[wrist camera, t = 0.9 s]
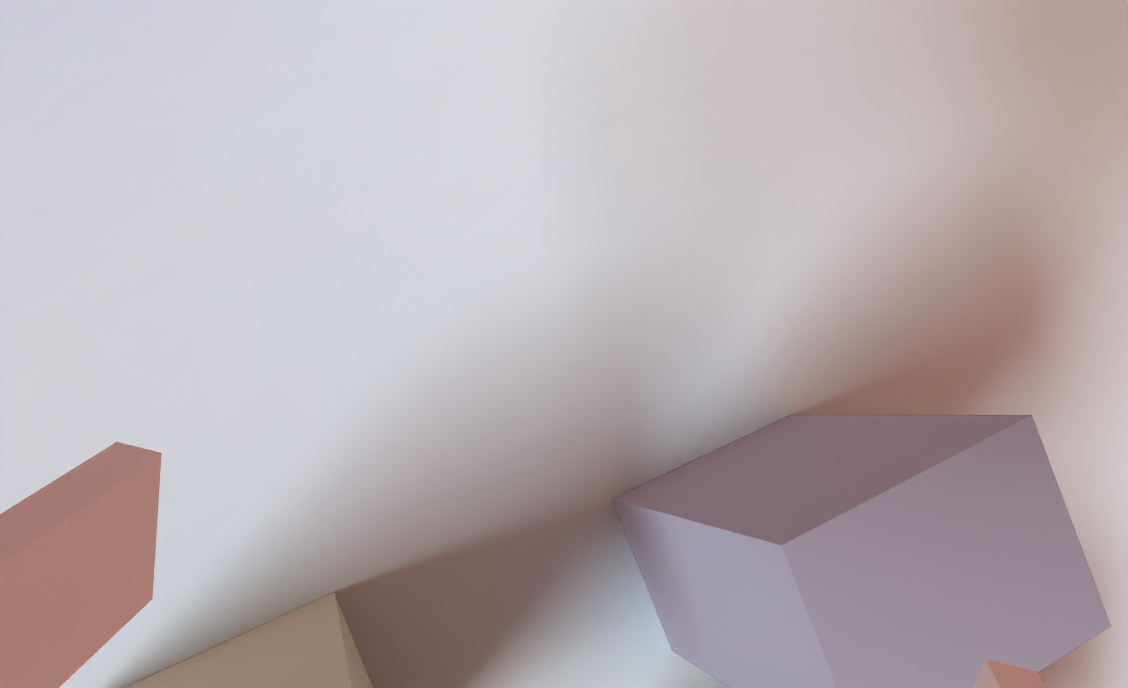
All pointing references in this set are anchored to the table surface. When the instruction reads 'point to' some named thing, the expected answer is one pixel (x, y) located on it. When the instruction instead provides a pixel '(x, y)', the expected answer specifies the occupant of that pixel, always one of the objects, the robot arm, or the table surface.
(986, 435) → the lavender block
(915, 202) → the table surface
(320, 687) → the beige block
